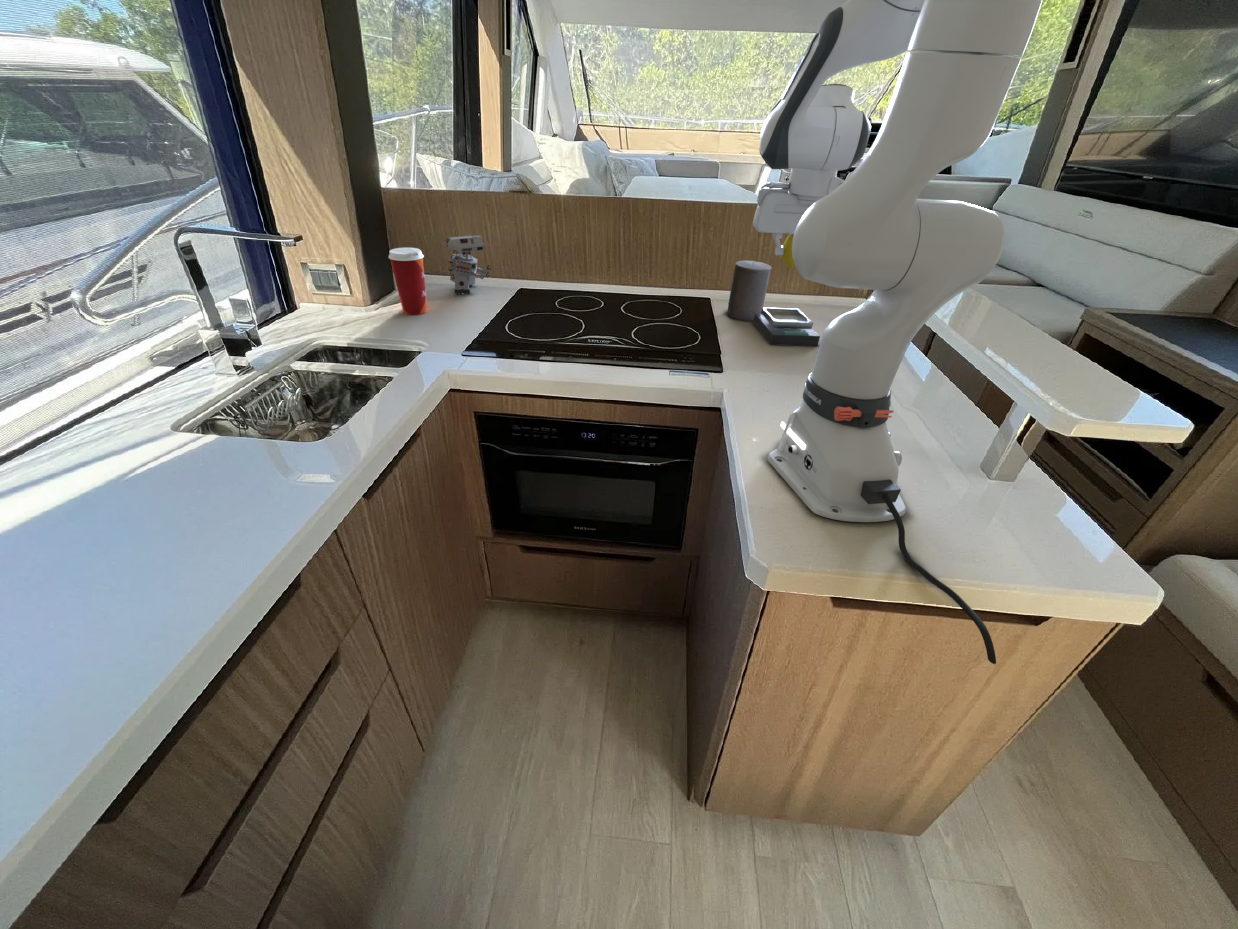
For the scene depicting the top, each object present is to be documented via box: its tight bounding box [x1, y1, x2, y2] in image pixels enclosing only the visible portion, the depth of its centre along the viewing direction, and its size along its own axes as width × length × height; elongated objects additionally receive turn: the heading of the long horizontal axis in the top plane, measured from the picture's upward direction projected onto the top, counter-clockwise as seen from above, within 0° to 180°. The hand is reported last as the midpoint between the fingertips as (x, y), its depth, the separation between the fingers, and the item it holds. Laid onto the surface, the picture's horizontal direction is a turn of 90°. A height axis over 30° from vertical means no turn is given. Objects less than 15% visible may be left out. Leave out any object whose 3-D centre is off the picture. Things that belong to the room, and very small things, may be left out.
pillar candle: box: [726, 259, 772, 322], centre depth 143 cm, size 10×10×15 cm
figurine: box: [445, 234, 492, 296], centre depth 150 cm, size 9×12×15 cm
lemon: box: [781, 234, 796, 270], centre depth 113 cm, size 6×6×8 cm
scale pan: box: [761, 307, 814, 329], centre depth 135 cm, size 11×10×2 cm
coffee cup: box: [388, 247, 428, 316], centre depth 132 cm, size 8×8×15 cm
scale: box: [752, 314, 821, 347], centre depth 136 cm, size 16×12×3 cm
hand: (794, 255), depth 114 cm, fingers closed on lemon, 5 cm apart
